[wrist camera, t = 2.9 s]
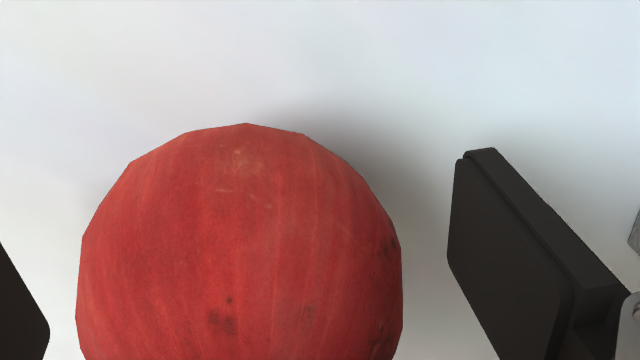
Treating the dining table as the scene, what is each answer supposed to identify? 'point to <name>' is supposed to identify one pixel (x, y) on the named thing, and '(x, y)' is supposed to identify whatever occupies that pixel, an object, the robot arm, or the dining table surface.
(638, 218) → the housing
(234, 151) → the onion
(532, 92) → the dining table surface
